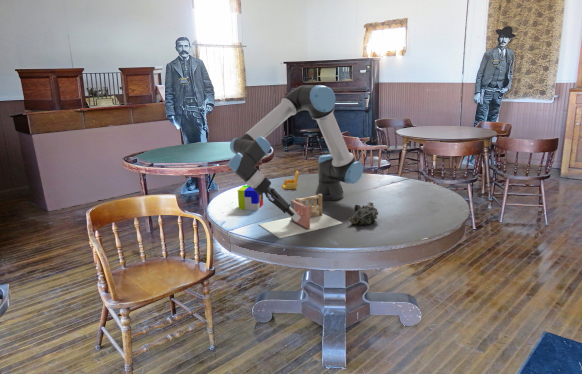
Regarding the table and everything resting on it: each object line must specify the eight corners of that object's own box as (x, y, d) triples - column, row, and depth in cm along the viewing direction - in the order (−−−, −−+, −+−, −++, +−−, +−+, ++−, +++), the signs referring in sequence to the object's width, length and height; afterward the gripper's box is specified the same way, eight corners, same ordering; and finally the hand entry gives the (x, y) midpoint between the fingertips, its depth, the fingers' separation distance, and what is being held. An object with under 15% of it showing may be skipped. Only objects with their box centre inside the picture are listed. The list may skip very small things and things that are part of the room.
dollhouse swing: (282, 185, 267) (281, 170, 265) (297, 184, 268) (297, 169, 266) (283, 189, 257) (282, 174, 255) (299, 188, 258) (299, 173, 255)
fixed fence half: (320, 213, 210) (320, 193, 208) (323, 215, 209) (323, 194, 206) (294, 219, 203) (294, 198, 201) (297, 220, 202) (296, 199, 199)
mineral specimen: (346, 205, 206) (358, 190, 200) (370, 217, 208) (382, 202, 202) (345, 226, 194) (356, 210, 188) (370, 238, 196) (382, 223, 190)
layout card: (318, 212, 214) (318, 211, 214) (342, 223, 197) (342, 222, 197) (258, 224, 199) (258, 223, 199) (279, 238, 182) (279, 237, 182)
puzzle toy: (258, 210, 220) (257, 190, 218) (238, 209, 222) (237, 190, 220) (263, 204, 230) (262, 185, 227) (244, 203, 232) (243, 185, 229)
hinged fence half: (290, 219, 202) (289, 199, 199) (293, 218, 203) (293, 198, 200) (306, 228, 190) (306, 207, 187) (310, 227, 191) (310, 206, 188)
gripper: (254, 185, 196) (292, 220, 200) (251, 193, 183) (292, 230, 187) (265, 173, 194) (304, 208, 198) (264, 180, 181) (305, 218, 186)
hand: (298, 219), depth 193 cm, fingers closed
